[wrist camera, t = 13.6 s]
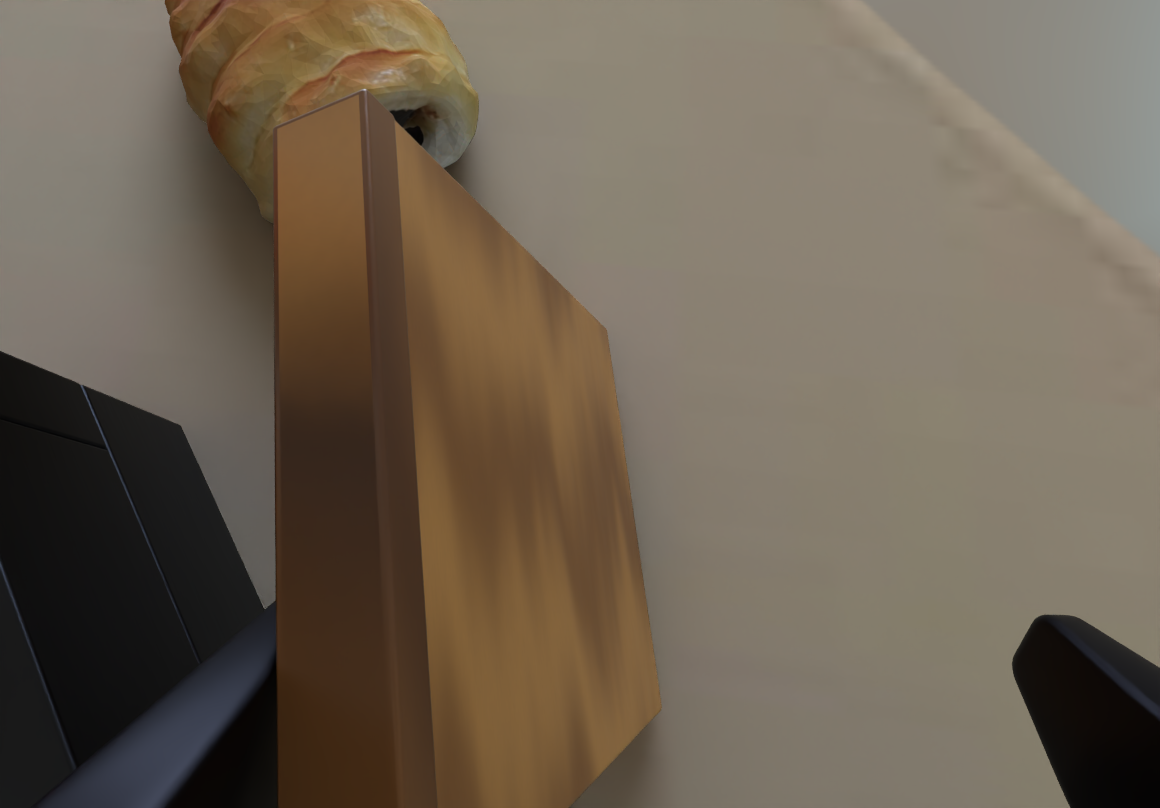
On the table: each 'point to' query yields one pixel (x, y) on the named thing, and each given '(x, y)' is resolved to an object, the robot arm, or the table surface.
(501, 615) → the toast
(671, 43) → the table surface
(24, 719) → the toaster
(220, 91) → the pastry
